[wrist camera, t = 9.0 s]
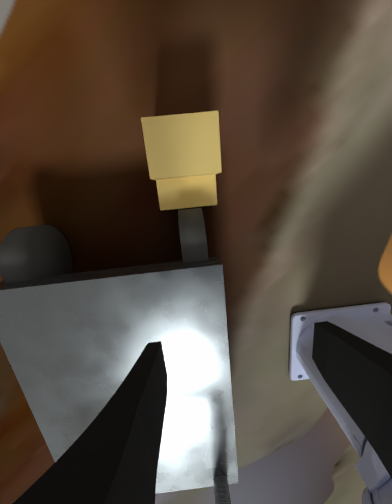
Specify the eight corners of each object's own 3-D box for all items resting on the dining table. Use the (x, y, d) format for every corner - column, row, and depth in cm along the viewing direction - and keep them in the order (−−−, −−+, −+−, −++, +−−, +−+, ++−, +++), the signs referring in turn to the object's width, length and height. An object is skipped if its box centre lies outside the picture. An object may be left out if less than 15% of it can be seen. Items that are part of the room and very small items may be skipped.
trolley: (207, 203, 17) (354, 314, 2) (225, 415, 24) (291, 784, 9) (32, 223, 17) (-1070, 486, 2) (101, 430, 24) (-36, 835, 9)
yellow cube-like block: (208, 133, 16) (218, 110, 11) (212, 202, 17) (223, 208, 13) (154, 138, 16) (140, 117, 11) (163, 207, 17) (155, 215, 12)
